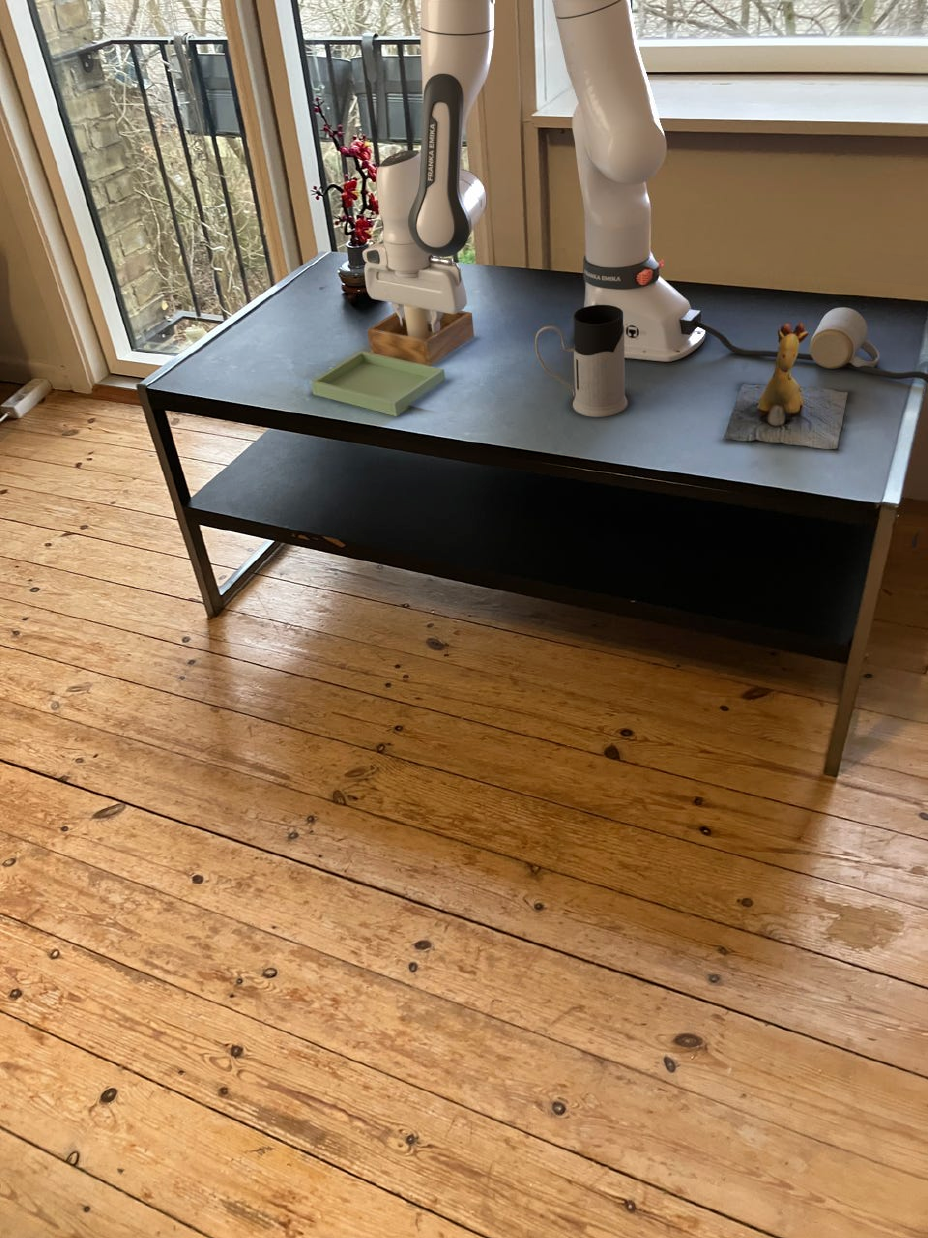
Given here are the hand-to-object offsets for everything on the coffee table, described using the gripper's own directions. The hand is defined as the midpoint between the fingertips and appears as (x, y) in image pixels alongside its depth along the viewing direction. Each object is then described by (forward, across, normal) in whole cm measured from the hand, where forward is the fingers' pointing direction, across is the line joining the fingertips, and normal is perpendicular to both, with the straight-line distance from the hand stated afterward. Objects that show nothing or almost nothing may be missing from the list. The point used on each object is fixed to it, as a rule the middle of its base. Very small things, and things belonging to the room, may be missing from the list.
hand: (420, 328), depth 189 cm
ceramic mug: (+4, -69, -24) cm, 73 cm away
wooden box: (+4, 0, 0) cm, 4 cm away
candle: (+3, 0, 0) cm, 3 cm away
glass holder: (+4, -38, +7) cm, 39 cm away
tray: (+4, -3, +16) cm, 17 cm away
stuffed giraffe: (+4, -68, -3) cm, 68 cm away
